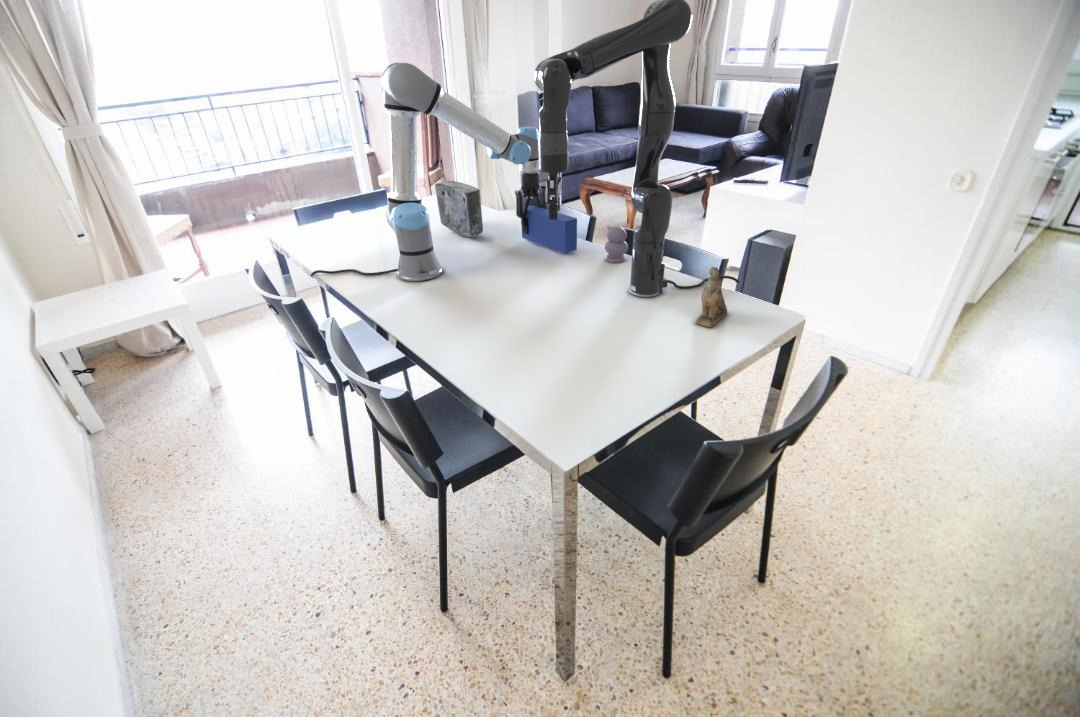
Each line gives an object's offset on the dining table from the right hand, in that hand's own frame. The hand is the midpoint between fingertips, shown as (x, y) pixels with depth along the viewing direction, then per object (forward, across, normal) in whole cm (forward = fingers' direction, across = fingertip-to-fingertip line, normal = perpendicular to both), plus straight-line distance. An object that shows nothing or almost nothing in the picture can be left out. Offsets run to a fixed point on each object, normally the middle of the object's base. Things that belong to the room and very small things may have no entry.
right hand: (554, 214), depth 134 cm
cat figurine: (+28, +41, -19) cm, 53 cm away
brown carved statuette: (+28, -5, -44) cm, 52 cm away
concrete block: (+28, +72, +46) cm, 89 cm away
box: (+27, +55, +7) cm, 62 cm away
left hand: (+24, +62, +14) cm, 68 cm away
